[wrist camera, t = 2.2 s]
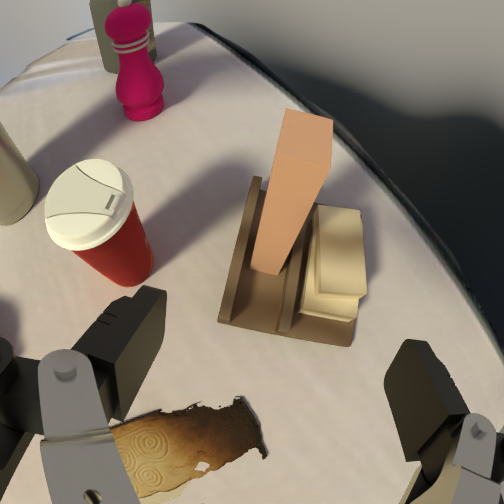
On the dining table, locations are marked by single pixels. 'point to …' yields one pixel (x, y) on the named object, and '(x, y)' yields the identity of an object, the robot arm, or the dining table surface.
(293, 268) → the walnut rack
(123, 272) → the paper cup
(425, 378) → the robot arm
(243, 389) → the dining table surface
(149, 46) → the liquor
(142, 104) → the pepper mill
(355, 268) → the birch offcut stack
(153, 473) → the parchment
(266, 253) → the terracotta block
